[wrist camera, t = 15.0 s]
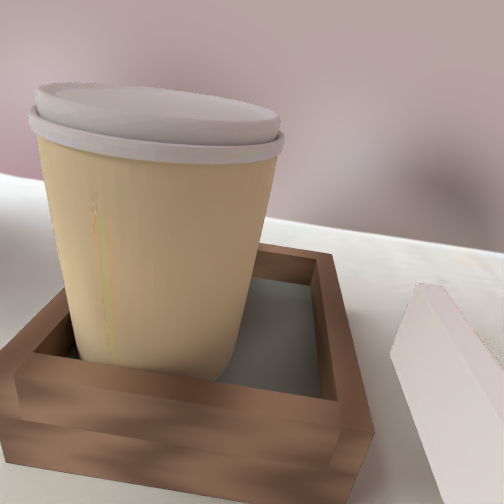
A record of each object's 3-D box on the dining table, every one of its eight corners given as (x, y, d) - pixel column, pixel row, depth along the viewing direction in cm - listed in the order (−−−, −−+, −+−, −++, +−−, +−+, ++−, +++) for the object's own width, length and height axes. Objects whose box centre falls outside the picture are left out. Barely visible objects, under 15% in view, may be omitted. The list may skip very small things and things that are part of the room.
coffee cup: (180, 279, 26) (190, 88, 20) (284, 356, 20) (336, 122, 15) (30, 331, 19) (-13, 74, 14) (122, 465, 14) (109, 124, 8)
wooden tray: (5, 462, 17) (-19, 368, 14) (131, 286, 30) (129, 223, 27) (339, 518, 16) (374, 432, 14) (316, 316, 30) (331, 254, 27)
